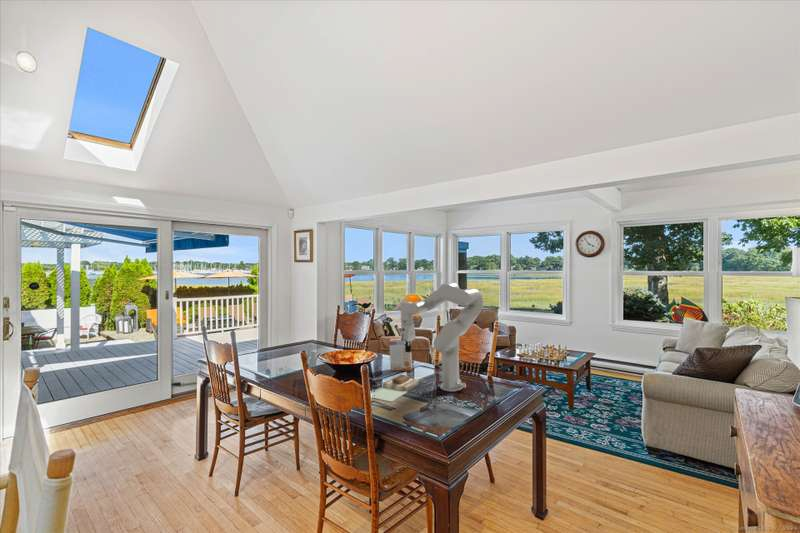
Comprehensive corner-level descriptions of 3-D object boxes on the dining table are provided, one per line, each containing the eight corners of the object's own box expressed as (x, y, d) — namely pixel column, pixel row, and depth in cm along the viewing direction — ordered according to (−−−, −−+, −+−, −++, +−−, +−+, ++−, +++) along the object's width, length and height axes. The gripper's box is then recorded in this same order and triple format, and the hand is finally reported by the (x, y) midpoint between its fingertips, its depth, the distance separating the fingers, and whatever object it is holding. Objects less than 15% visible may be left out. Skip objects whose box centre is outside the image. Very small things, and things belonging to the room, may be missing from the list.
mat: (407, 392, 210) (407, 391, 210) (391, 401, 196) (391, 401, 196) (381, 387, 220) (381, 386, 220) (364, 396, 206) (364, 395, 206)
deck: (418, 384, 223) (418, 379, 222) (406, 391, 211) (406, 387, 211) (396, 380, 231) (396, 376, 231) (383, 387, 219) (382, 383, 219)
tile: (409, 379, 223) (409, 375, 223) (401, 384, 216) (400, 380, 215) (400, 378, 226) (400, 374, 226) (392, 383, 219) (392, 378, 219)
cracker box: (412, 368, 255) (410, 337, 255) (411, 371, 249) (410, 339, 249) (391, 368, 257) (390, 338, 256) (390, 371, 251) (389, 340, 250)
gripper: (406, 324, 220) (407, 355, 221) (418, 320, 233) (419, 349, 234) (395, 323, 225) (396, 354, 225) (408, 319, 237) (409, 348, 238)
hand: (408, 351), depth 229 cm, fingers closed
